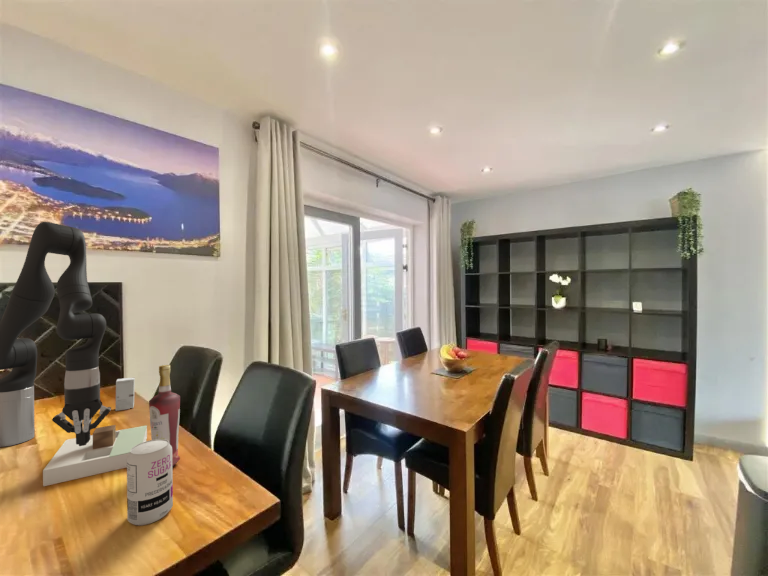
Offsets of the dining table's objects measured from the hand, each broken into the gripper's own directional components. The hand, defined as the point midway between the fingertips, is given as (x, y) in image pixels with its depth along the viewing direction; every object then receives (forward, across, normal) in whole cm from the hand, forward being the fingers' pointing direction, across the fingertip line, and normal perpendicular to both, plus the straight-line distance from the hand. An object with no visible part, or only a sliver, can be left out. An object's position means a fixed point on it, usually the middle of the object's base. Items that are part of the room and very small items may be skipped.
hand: (83, 444), depth 96 cm
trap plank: (+5, -4, 0) cm, 7 cm away
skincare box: (+5, -4, -48) cm, 49 cm away
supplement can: (+6, -19, +36) cm, 41 cm away
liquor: (+5, -20, +14) cm, 25 cm away
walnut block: (+1, -5, 0) cm, 5 cm away
